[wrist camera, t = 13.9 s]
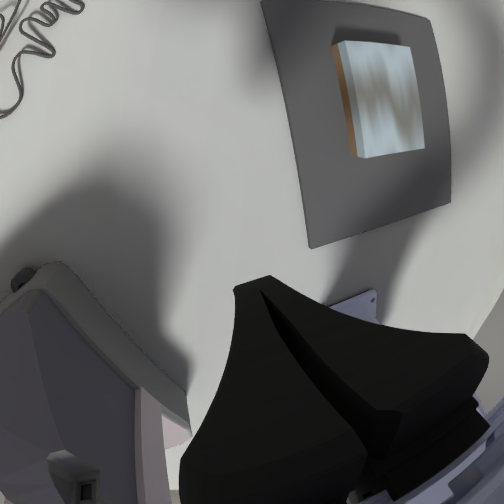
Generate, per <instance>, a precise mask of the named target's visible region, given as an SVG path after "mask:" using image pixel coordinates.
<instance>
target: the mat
mask: <svg viewBox="0 0 504 504" xmlns="http://www.w3.org/2000/svg"><path fill="white" fill-rule="evenodd" d="M261 6H262V9H263V13H264V17H265V20H266V24H267V28H268V32H269V36H270V40H271V44H272V48H273V52H274V56H275V61H276V65H277V69H278V74H279V78H280V83H281V87H282V92H283V97H284V101H285V106H286V111H287V116H288V121H289V126H290V132H291V137H292V142H293V148H294V153H295V159H296V165H297V171H298V177H299V183H300V189H301V195H302V202H303V208H304V215H305V222H306V229H307V237H308V244H309V248H310V249H314V248H317V247H320V246H323V245H326V244H329V243H333V242H336V241H339V240H342V239H345V238H348V237H351V236H354V235H357V234H360V233H363V232H366V231H369V230H372V229H375V228H378V227H381V226H384V225H387V224H390V223H392V222H395V221H398V220H401V219H404V218H407V217H410V216H413V215H416V214H419V213H422V212H425V211H428V210H430V209H433V208H436V207H439V206H442V205H445V204H448V203H450V202H451V145H450V129H449V118H448V109H447V100H446V93H445V86H444V80H443V74H442V69H441V64H440V59H439V54H438V50H437V45H436V41H435V37H434V33H433V29H432V26H431V22H430V20H427V19H424V18H420V17H417V16H413V15H409V14H405V13H401V12H396V11H392V10H387V9H382V8H377V7H371V6H365V5H358V4H351V3H342V2H333V1H320V0H262V1H261ZM342 41H361V42H373V43H383V44H392V45H399V46H406V47H410V50H411V55H412V59H413V64H414V69H415V74H416V80H417V86H418V92H419V99H420V106H421V114H422V123H423V133H424V146H425V148H423V149H417V150H410V151H404V152H398V153H392V154H386V155H381V156H375V157H370V158H362V157H357V156H352V155H350V147H349V140H348V133H347V126H346V120H345V114H344V108H343V102H342V97H341V91H340V86H339V81H338V76H337V71H336V67H335V62H334V58H333V54H332V49H331V46H332V45H335V44H337V43H340V42H342Z"/></svg>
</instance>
